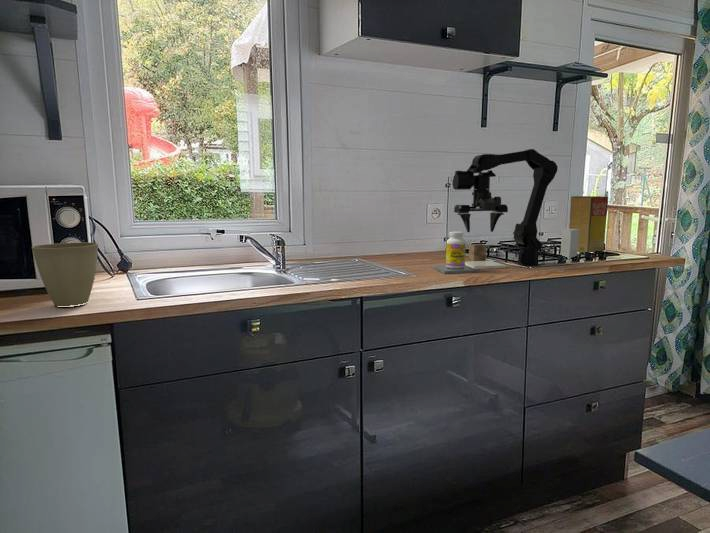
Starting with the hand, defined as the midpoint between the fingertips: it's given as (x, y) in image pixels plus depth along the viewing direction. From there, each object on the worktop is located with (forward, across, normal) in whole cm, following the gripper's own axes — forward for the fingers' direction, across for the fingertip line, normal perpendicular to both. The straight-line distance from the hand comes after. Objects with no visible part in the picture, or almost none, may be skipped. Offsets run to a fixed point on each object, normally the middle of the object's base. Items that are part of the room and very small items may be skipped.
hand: (480, 232), depth 182 cm
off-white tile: (+13, +2, +1) cm, 13 cm away
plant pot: (+13, -129, -34) cm, 134 cm away
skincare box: (+13, +44, +11) cm, 47 cm away
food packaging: (+13, +62, +26) cm, 69 cm away
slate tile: (+13, -12, -6) cm, 19 cm away
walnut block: (+13, +4, +11) cm, 18 cm away
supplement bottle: (+12, -12, -6) cm, 18 cm away
